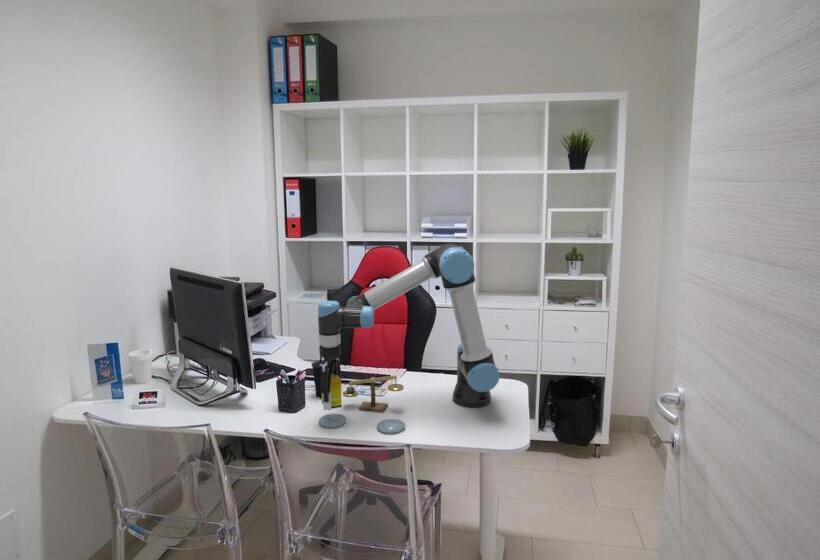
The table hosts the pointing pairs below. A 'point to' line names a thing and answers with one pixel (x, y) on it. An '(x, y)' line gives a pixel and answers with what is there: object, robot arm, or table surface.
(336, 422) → the dish low side
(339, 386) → the supplement box
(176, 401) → the table surface
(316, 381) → the drinking cup
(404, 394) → the table surface
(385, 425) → the blue-grey plate
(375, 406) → the balance stand
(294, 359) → the table surface
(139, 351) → the foam cup
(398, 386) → the balance beam
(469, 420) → the table surface
